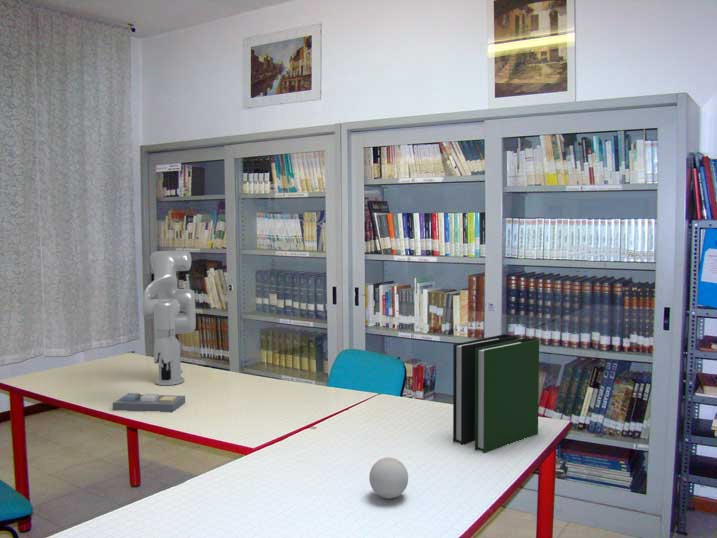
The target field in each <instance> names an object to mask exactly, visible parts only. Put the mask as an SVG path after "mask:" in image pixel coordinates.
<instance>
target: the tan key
mask: <svg viewBox="0 0 717 538" xmlns="http://www.w3.org/2000/svg"><path fill="white" fill-rule="evenodd" d="M177 396H178V395H174V396H164V397H162V398H161V399H159V402H173V401H174V400H176V399H177Z"/></svg>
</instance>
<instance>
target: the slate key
mask: <svg viewBox="0 0 717 538" xmlns="http://www.w3.org/2000/svg"><path fill="white" fill-rule="evenodd" d="M140 395H141V393H137V392H134V393H133V392H131V393H130V392H127V393H126V394H125V395H122V397H121V398H122V401H136V400H138V399H139V398H140Z"/></svg>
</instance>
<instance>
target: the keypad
mask: <svg viewBox="0 0 717 538" xmlns="http://www.w3.org/2000/svg"><path fill="white" fill-rule="evenodd" d="M143 395H144V394H140V397H142V396H143ZM158 396H159V398H158V399H157V400H155V401H153V402H150V401H141V400H140V398H139V399H138V400H136V401H122V397H121V398H119V399H117V400H115V401H114V402H112V411H113V410H127V411H126V412H145V411H160V412H159V413H174V412H175V411H177V410H178V409H180V408H181V407H182V406H183V405H185V404H186V395H176V396H177V399H176V400H174V401H173V402H159V399H161V398H162V397H164V396H175V395H174V394H173V395H166V394H164V395H163V394H158ZM184 403H185V404H184ZM180 406H181V407H180ZM176 409H177V410H176ZM173 411H174V412H173Z"/></svg>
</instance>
